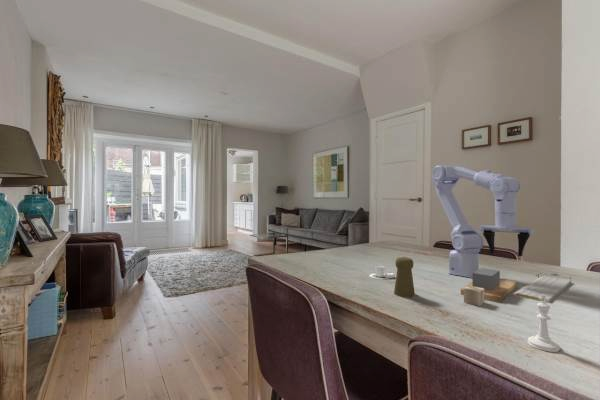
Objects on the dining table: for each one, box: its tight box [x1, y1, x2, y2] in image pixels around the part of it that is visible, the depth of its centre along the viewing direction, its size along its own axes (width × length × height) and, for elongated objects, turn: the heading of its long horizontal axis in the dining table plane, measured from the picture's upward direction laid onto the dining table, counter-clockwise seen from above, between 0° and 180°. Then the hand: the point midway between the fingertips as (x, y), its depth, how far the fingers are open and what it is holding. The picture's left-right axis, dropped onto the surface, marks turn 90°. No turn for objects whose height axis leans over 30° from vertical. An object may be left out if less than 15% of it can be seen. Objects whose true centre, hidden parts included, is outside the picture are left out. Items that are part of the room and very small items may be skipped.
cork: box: [393, 256, 416, 298], centre depth 90 cm, size 6×6×11 cm
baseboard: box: [512, 272, 572, 304], centre depth 95 cm, size 30×3×10 cm
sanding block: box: [471, 267, 501, 293], centre depth 90 cm, size 5×9×5 cm, turn 134°
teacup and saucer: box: [368, 265, 396, 280], centre depth 109 cm, size 9×8×4 cm
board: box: [460, 278, 518, 303], centre depth 93 cm, size 10×22×2 cm, turn 134°
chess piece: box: [527, 295, 561, 353], centre depth 58 cm, size 5×5×10 cm
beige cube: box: [463, 284, 485, 307], centre depth 82 cm, size 4×4×4 cm
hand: (506, 254), depth 97 cm, fingers open, 7 cm apart
